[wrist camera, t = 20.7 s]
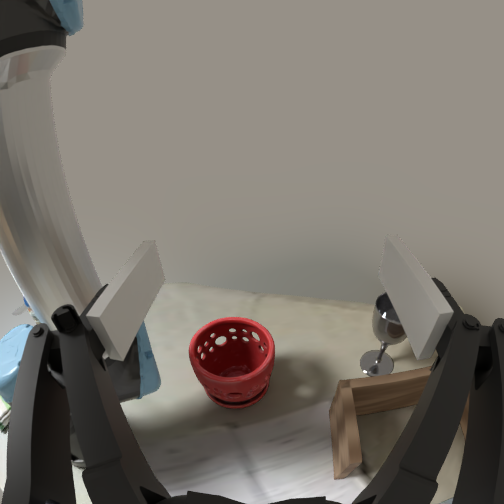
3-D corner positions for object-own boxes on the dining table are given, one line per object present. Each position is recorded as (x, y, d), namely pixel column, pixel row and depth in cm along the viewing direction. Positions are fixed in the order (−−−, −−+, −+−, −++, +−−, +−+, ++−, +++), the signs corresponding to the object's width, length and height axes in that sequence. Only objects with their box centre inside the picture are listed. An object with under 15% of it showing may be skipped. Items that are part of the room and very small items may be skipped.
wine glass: (380, 386, 41) (406, 330, 33) (350, 363, 47) (366, 305, 39) (402, 362, 44) (427, 305, 37) (373, 342, 50) (391, 285, 43)
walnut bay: (471, 440, 25) (503, 412, 20) (334, 479, 27) (350, 463, 22) (453, 387, 36) (476, 354, 31) (328, 411, 38) (339, 380, 33)
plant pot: (191, 405, 41) (172, 367, 35) (218, 353, 52) (207, 310, 46) (264, 424, 37) (261, 388, 32) (281, 365, 48) (282, 321, 42)
